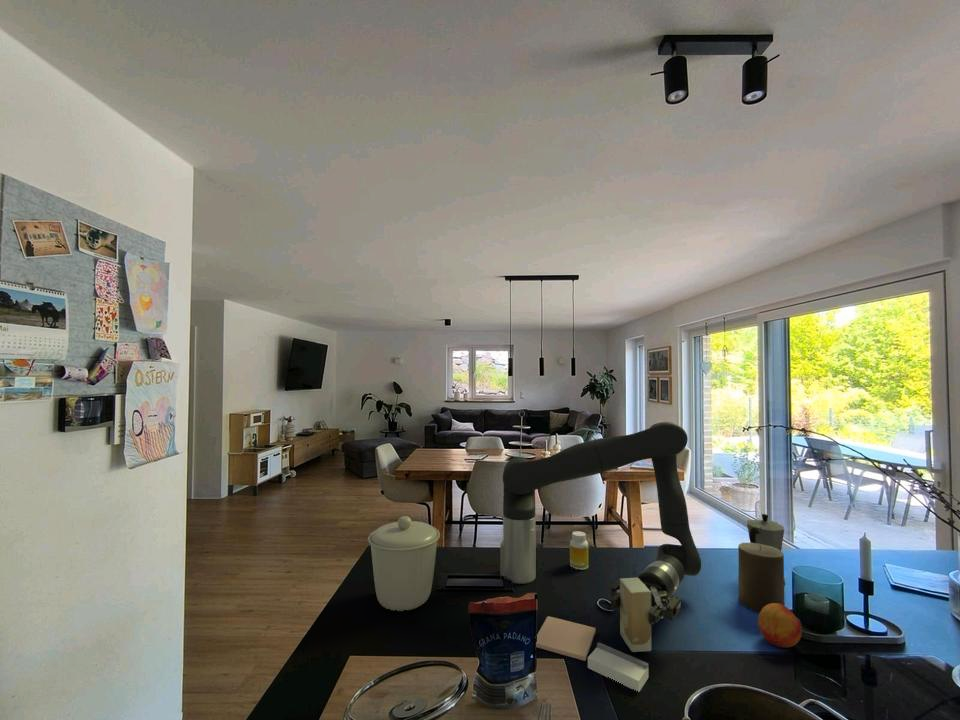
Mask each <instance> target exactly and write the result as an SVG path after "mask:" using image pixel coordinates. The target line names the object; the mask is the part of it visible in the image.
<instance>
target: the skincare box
mask: <svg viewBox="0 0 960 720" xmlns="http://www.w3.org/2000/svg"><path fill="white" fill-rule="evenodd" d="M619 578H620V577H619ZM651 610H652V607H651V591H650V590H649V589H648V588H647V587H646V586H645V584H644V583H643V582H642V581H641V580H640V579H639V578H637V577H624V578H623V577H622V578H620V607H619V613H620V614H619V629H620V630H619V635H621V638H622V640H623V641H624V642H625V645H627V647H628V648H629V650H630V651H631V652H632V653H637V652H651V651H652V624H649V612H650V611H651Z"/></svg>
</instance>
